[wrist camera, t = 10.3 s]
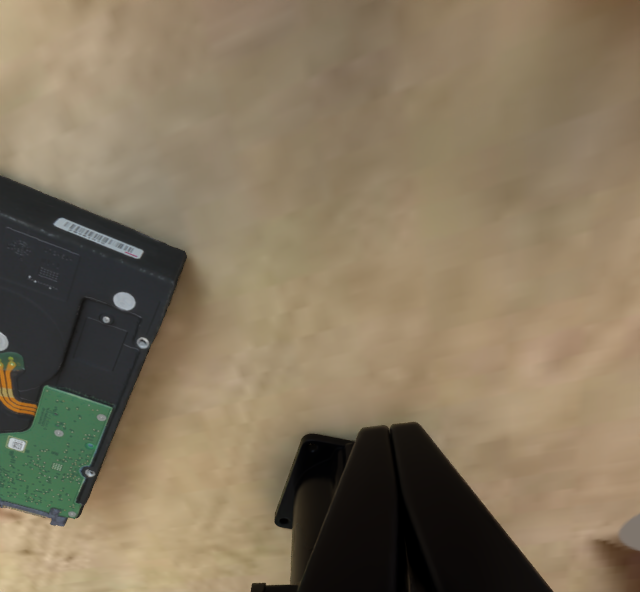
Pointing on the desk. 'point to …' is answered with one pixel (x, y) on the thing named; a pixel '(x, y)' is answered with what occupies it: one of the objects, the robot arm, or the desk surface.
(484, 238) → the desk surface
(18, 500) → the disk drive
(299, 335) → the desk surface
